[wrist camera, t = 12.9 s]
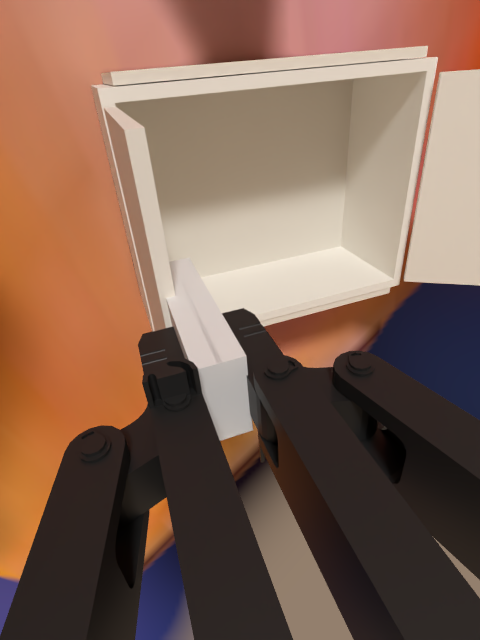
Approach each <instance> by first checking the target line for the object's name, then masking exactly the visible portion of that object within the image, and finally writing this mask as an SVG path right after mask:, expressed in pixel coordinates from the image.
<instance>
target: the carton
mask: <svg viewBox="0 0 480 640" xmlns="http://www.w3.org/2000/svg"><path fill="white" fill-rule="evenodd" d="M427 50H428V46H419V47H407V48H395V49H383V50H371V51H358V52H346V53H334V54H322V55H310V56H298V57H286V58H274V59H262V60H250V61H238V62H226V63H214V64H202V65H189V66H177V67H165V68H153V69H141V70H129V71H117V72H107V73H101V76H102V81H103V84H102V85H91V89H92V93H93V97H94V101H95V105H96V110H97V114H98V118H99V122H100V126H101V131H102V135H103V139H104V143H105V147H106V151H107V156H108V160H109V164H110V168H111V172H112V177H113V181H114V185H115V189H116V193H117V198H118V202H119V206H120V210H121V214H122V218H123V223H124V227H125V231H126V235H127V239H128V244H129V248H130V252H131V256H132V260H133V265H134V269H135V273H136V277H137V281H138V285H139V290H140V294H141V297H142V300H143V304H144V307H145V310H146V313H147V316H148V320H149V323H150V326H151V329H152V332H153V331H155V330H154V325H153V321H152V316H151V312H150V308H149V303H148V299H147V295H146V290H145V286H144V282H143V277H142V273H141V269H140V264H139V260H138V256H137V251H136V247H135V242H134V238H133V234H132V229H131V225H130V221H129V216H128V212H127V208H126V203H125V199H124V195H123V190H122V186H121V182H120V177H119V173H118V168H117V164H116V160H115V155H114V151H113V147H112V142H111V138H110V134H109V129H108V125H107V121H106V116H105V112H104V108H105V107H115V106H116V107H117V108H118V109H120V110H121V111H122V112H124V113H125V114H127V115H128V116H129V117H131V118H132V119H133V120H135V121H136V122H138V123H139V124H140V125H142V126H143V127H144V128H145V133H146V139H147V144H148V150H149V155H150V161H151V166H152V171H153V177H154V182H155V188H156V193H157V199H158V204H159V209H160V215H161V220H162V226H163V231H164V237H165V242H166V247H167V253H168V258H169V262H170V261H175V260H180V259H184V258H190V260H191V261H192V263H193V265H194V267H195V268H196V270H197V272H198V273H199V275H200V277H201V279H202V280H203V282H204V284H205V286H206V287H207V289H208V291H209V292H210V294H211V296H212V298H213V299H214V301H215V303H216V304H217V306H218V308H219V310H220V311H221V313H225V312H230V311H234V310H238V309H242V308H244V309H246V310H248V311H250V312H251V313H253V314H255V316H256V317H257V318H258V320H259V321H260V323H261V324H262V325H263V327H264V326H267V325H271V324H275V323H279V322H282V321H286V320H290V319H294V318H297V317H301V316H305V315H309V314H312V313H316V312H320V311H324V310H327V309H331V308H335V307H339V306H342V305H346V304H350V303H354V302H357V301H361V300H365V299H369V298H372V297H376V296H380V295H384V294H387V293H389V292H390V287H393V286H397V285H399V284H400V278H401V272H402V266H403V260H404V254H405V248H406V242H407V237H408V231H409V225H410V219H411V213H412V207H413V201H414V196H415V190H416V184H417V178H418V172H419V166H420V160H421V154H422V149H423V143H424V137H425V131H426V125H427V119H428V113H429V107H430V102H431V96H432V90H433V84H434V78H435V72H436V66H437V61H438V57H430V58H421V57H426V56H427ZM410 58H412V59H410Z"/></svg>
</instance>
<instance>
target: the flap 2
mask: <svg viewBox="0 0 480 640" xmlns="http://www.w3.org/2000/svg"><path fill="white" fill-rule="evenodd" d="M404 281H407V282H427V283H446V284H465V285H466V284H467V285H480V69H478V70H464V71H450V72H440V74H439V79H438V85H437V91H436V96H435V102H434V108H433V113H432V119H431V125H430V131H429V136H428V142H427V148H426V153H425V159H424V165H423V171H422V176H421V182H420V188H419V193H418V199H417V205H416V210H415V216H414V222H413V228H412V233H411V239H410V245H409V250H408V256H407V262H406V267H405V273H404Z"/></svg>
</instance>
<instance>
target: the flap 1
mask: <svg viewBox="0 0 480 640" xmlns="http://www.w3.org/2000/svg"><path fill="white" fill-rule="evenodd" d="M104 112H105V116H106V121H107V125H108V129H109V134H110V138H111V142H112V147H113V151H114V155H115V160H116V164H117V168H118V173H119V177H120V182H121V186H122V190H123V195H124V199H125V203H126V208H127V212H128V216H129V221H130V225H131V229H132V234H133V238H134V242H135V247H136V251H137V256H138V260H139V264H140V269H141V273H142V277H143V282H144V286H145V290H146V295H147V299H148V303H149V308H150V312H151V316H152V321H153V325H154V330H155V331H157V330H161V329H165V328H169V327H172V324H171V319H170V315H169V310H168V305H167V300H166V298H169V297H173V296H175V291H174V286H173V280H172V275H171V269H170V264H169V258H168V253H167V247H166V242H165V237H164V231H163V226H162V220H161V215H160V209H159V204H158V199H157V193H156V188H155V182H154V177H153V171H152V166H151V161H150V155H149V150H148V144H147V139H146V133H145V128H144V127H143V126H142V125H140V124H139V123H138V122H136V121H135V120H133V119H132V118H131V117H129V116H128V115H127V114H125V113H124V112H122V111H121V110H120V109H118V108H117V107H116V106H115V107H105V108H104Z"/></svg>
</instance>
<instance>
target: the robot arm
mask: <svg viewBox="0 0 480 640" xmlns="http://www.w3.org/2000/svg"><path fill="white" fill-rule="evenodd" d="M169 264H170V269H171V275H172V280H173V286H174V291H175V296H173V297H169V298H166V300H167V305H168V310H169V315H170V319H171V324H172V327H169V328H165V329H161V330H157V331H153V332H149V333H145V334H143V335H142V337H141V339H140V341H139V344H138V347H139V352H140V356H141V362H142V367H143V372H144V375H143V381H142V384H143V387H144V391H145V394H146V398H147V401H148V405H147V408H146V410H145V411H144V413H143V414H142V415H141V416H140V417H139V418H138V419H137V420H136V421H134V422H133V423H131V424H130V425H128V426H126V427H125V428H123V429H121V430H119V429H117V428H115V427H113V426H98V427H94V428H90V429H88V430H86V431H84V432H83V433H81V434H79V435H78V436H77V437H76V438H75V439H74V440H73V441H71V442H70V444H69V446H68V447H67V449H66V451H65V453H64V456H63V458H62V461H61V464H60V467H59V470H58V473H57V476H56V478H55V481H54V484H53V487H52V490H51V493H50V496H49V498H48V501H47V504H46V507H45V510H44V513H43V516H42V518H41V521H40V524H39V527H38V530H37V533H36V535H35V538H34V541H33V544H32V547H31V550H30V553H29V555H28V558H27V561H26V564H25V567H24V570H23V573H22V575H21V578H20V581H19V584H18V587H17V590H16V593H15V595H14V598H13V602H12V604H11V607H10V610H9V613H8V616H7V619H6V621H5V624H4V627H3V630H2V633H1V635H0V640H135V634H136V626H137V625H136V624H137V617H138V608H139V599H140V590H141V581H142V573H143V564H144V556H145V547H146V538H147V529H148V521H149V509H150V508H152V507H153V506H155V505H156V504H157V503H159V502H160V501H162V500H163V499H164V498H166V497H167V501H168V506H169V511H170V516H171V522H172V527H173V532H174V537H175V542H176V547H177V553H178V558H179V563H180V568H181V573H182V578H183V583H184V589H185V594H186V599H187V604H188V609H189V615H190V619H191V625H192V630H193V635H194V640H293V638H292V635H291V633H290V630H289V627H288V624H287V622H286V619H285V616H284V614H283V611H282V608H281V606H280V603H279V600H278V597H277V595H276V592H275V589H274V586H273V584H272V581H271V578H270V576H269V573H268V570H267V567H266V565H265V562H264V559H263V557H262V554H261V551H260V549H259V546H258V544H257V540H256V538H255V535H254V532H253V529H252V527H251V524H250V522H249V519H248V516H247V513H246V511H245V508H244V505H243V502H242V500H241V497H240V494H239V492H238V489H237V486H236V484H235V481H234V478H233V475H232V472H231V470H230V467H229V464H228V462H227V459H226V456H225V454H224V451H223V448H222V445H221V443H220V441H221V440H225V439H228V438H231V437H234V436H237V435H240V434H243V433H246V432H249V431H252V430H253V425H252V419H253V421H254V423H255V425H256V427H257V429H258V439H259V452H260V459H261V463H262V462H265V457H266V459H267V461H268V463H269V465H270V467H271V469H272V471H273V473H274V475H275V477H276V479H277V482H278V484H279V486H280V488H281V490H282V492H283V494H284V496H285V498H286V500H287V502H288V504H289V506H290V509H291V510H292V513H293V515H294V516H295V519H296V521H297V523H298V525H299V527H300V529H301V531H302V533H303V535H304V538H305V540H306V541H307V544H308V546H309V548H310V550H311V552H312V554H313V556H314V558H315V560H316V562H317V564H318V566H319V569H320V571H321V573H322V575H323V577H324V579H325V581H326V583H327V585H328V587H329V589H330V591H331V593H332V596H333V597H334V599H335V602H336V604H337V606H338V608H339V610H340V612H341V614H342V616H343V618H344V620H345V622H346V625H347V627H348V629H349V631H350V633H351V635H352V637H353V639H354V640H480V598H479V597H478V596H477V594H476V593H475V592H474V590H473V589H472V588H471V587H470V585H469V584H468V583H467V581H466V580H465V579H464V578H463V576H462V575H461V573H460V572H459V571H458V569H457V568H456V567H455V566H454V564H453V563H452V562H451V560H450V559H449V558H448V556H447V555H446V554H445V552H444V551H443V550H442V548H441V547H440V546H439V544H438V543H437V542H436V540H437V541H438V542H439V543H441V544H442V545H443V546H444V547H445V548H446V549H447V550H448V551H449V552H450V553H451V554H452V555H453V556H455V557H456V558H457V559H458V560H459V561H460V562H461V563H462V564H463V565H464V566H465V567H466V568H468V569H469V570H470V571H471V572H472V573H473V574H474V575H475V576H476V577H477V578H478V579H480V420H478V419H477V418H475V417H473V416H472V415H470V414H469V413H467V412H465V411H464V410H462V409H460V408H459V407H457V406H456V405H454V404H453V403H451V402H449V401H448V400H446V399H444V398H443V397H441V396H440V395H438V394H437V393H435V392H433V391H432V390H430V389H428V388H427V387H425V386H424V385H422V384H420V383H419V382H417V381H416V380H414V379H413V378H411V377H409V376H408V375H406V374H405V373H403V372H401V371H400V370H398V369H396V368H395V367H393V366H392V365H390V364H389V363H387V362H385V361H384V360H382V359H380V358H379V357H377V356H375V355H373V354H370V353H368V352H362V351H349V352H346V353H343V354H341V355H339V356H338V357H337V358H336V359H335V362H334V365H333V367H327V368H307V367H303V366H302V364H301V363H299V362H298V361H297V360H296V359H294V358H291V357H289V356H284V355H283V353H282V352H281V350H280V349H279V348H278V346H277V345H276V343H275V342H274V341H273V339H272V338H271V336H270V335H269V334H268V332H266V330H265V328H264V327H263V325H262V324H261V323H260V321H259V320H258V318H257V317H256V316H255V314H253V313H251V312H250V311H248V310H246V309H244V308H242V309H238V310H234V311H230V312H225V313H221V311H220V310H219V308H218V306H217V304H216V303H215V301H214V299H213V298H212V296H211V294H210V292H209V291H208V289H207V287H206V286H205V284H204V282H203V280H202V279H201V277H200V275H199V273H198V272H197V270H196V268H195V267H194V265H193V263H192V261H191V260H190V258H184V259H180V260H175V261H170V262H169ZM432 536H433V537H434V538H435V539H436V540H435V539H434V538H433V537H432Z"/></svg>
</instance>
